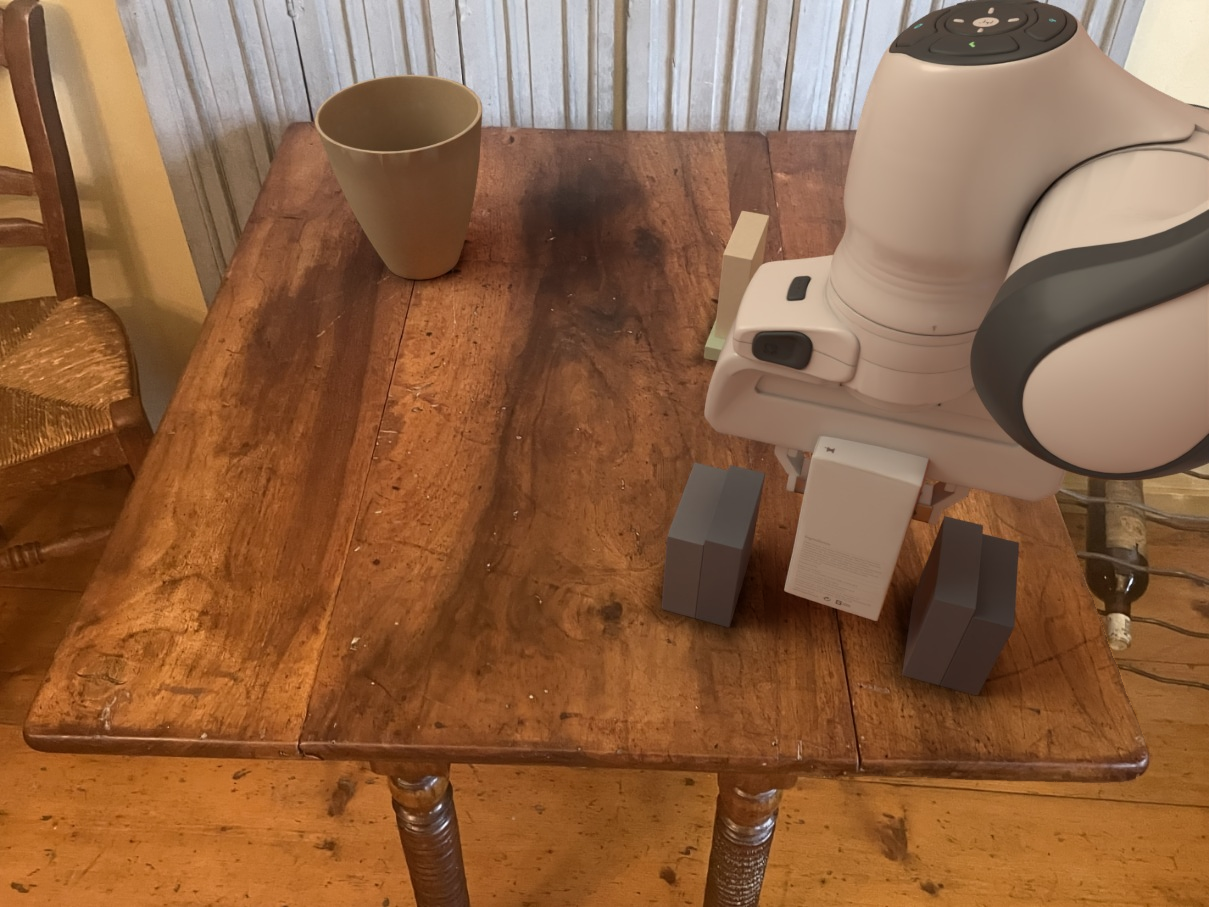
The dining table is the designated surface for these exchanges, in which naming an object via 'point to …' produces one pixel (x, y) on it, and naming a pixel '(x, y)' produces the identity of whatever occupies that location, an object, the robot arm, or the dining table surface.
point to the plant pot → (407, 166)
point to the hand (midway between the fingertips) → (860, 500)
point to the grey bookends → (942, 603)
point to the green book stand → (737, 275)
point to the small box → (853, 524)
